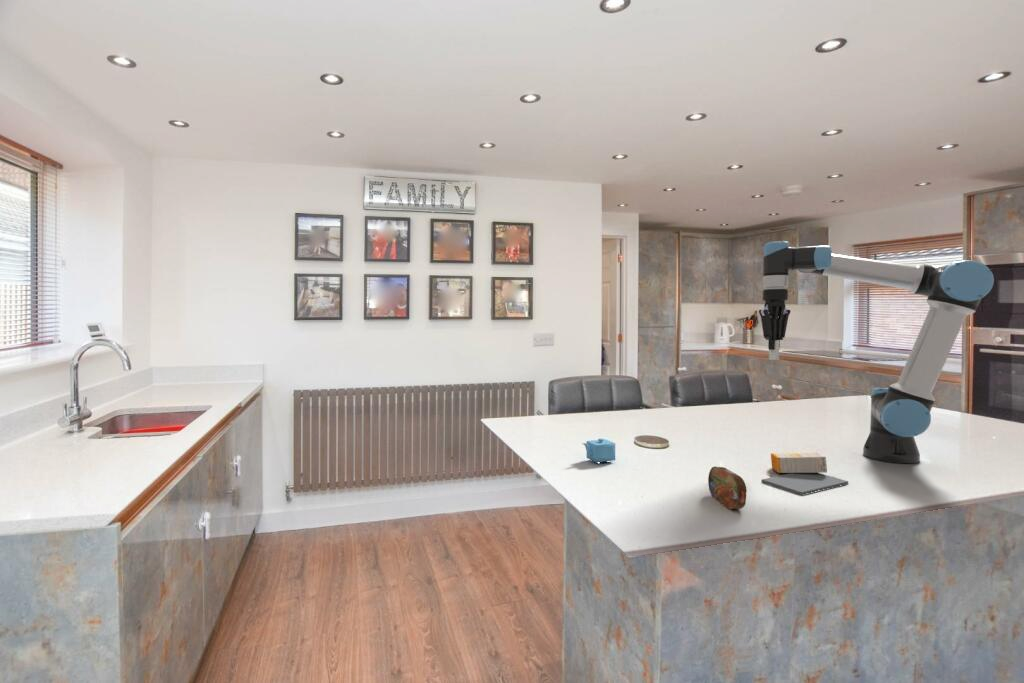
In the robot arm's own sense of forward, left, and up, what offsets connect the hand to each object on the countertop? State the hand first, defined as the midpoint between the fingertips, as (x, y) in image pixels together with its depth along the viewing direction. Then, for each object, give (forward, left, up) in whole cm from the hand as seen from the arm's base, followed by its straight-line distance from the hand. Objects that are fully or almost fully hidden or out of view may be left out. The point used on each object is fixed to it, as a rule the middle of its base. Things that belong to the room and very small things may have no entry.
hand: (773, 359), depth 173 cm
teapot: (+57, -20, -33) cm, 69 cm away
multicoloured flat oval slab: (+50, +25, -33) cm, 65 cm away
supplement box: (+16, +13, -30) cm, 36 cm away
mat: (+18, +24, -32) cm, 44 cm away
